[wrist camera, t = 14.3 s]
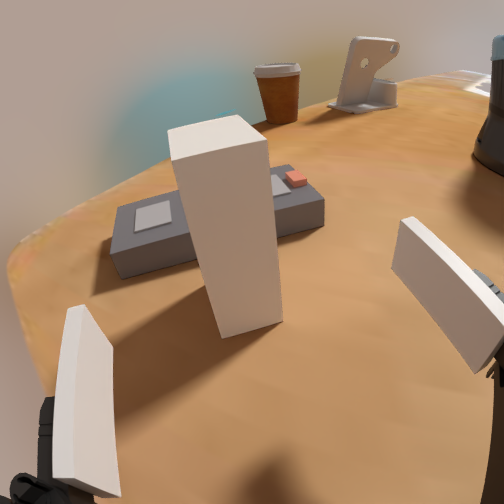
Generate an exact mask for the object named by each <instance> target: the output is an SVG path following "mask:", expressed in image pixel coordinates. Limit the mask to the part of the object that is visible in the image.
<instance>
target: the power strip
mask: <svg viewBox="0 0 504 504" xmlns="http://www.w3.org/2000/svg"><path fill="white" fill-rule="evenodd" d="M270 173H271V183H272V193H273V204H274V215H275V226H276V237H277V238H278V237H282V236H286V235H290V234H294V233H297V232H301V231H305V230H309V229H313V228H317V227H320V226H324V198H323V197H322V196H321V195H320V194H319V193H318V192H317V191H316V190H315V189H314V188H313V187H312V186H311V185H310V184H309V183H308V182H307V178H306V177H305V176H304V175H303V174H301V173H300V172H299V171H298V170H294V169H293V168H292V167H291V166H290V165H289V164H288V165H283V166H278V167H274V168H270ZM110 256H111V258H112V261H113V263H114V265H115V267H116V269H117V271H118V273H119V275H120V277H121V279H125V278H129V277H133V276H136V275H140V274H144V273H147V272H151V271H155V270H158V269H162V268H166V267H169V266H173V265H177V264H181V263H184V262H188V261H192V260H195V259H197V256H196V252H195V249H194V245H193V241H192V238H191V234H190V231H189V227H188V223H187V220H186V216H185V212H184V208H183V204H182V201H181V197H180V193H179V190H176V191H173V192H169V193H165V194H162V195H158V196H154V197H151V198H147V199H144V200H140V201H137V202H133V203H130V204H127V205H123V206H120V207H118V208H117V214H116V219H115V225H114V230H113V236H112V242H111V249H110Z"/></svg>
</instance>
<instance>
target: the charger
mask: <svg viewBox="0 0 504 504" xmlns="http://www.w3.org/2000/svg"><path fill="white" fill-rule="evenodd" d="M168 138H169V146H170V154H171V161H172V165H173V169H174V173H175V177H176V181H177V185H178V189H179V193H180V197H181V201H182V204H183V208H184V212H185V216H186V220H187V223H188V227H189V231H190V234H191V238H192V241H193V245H194V249H195V252H196V256H197V259H198V263H199V266H200V270H201V273H202V276H203V280H204V283H205V286H206V290H207V293H208V296H209V300H210V303H211V306H212V310H213V313H214V316H215V319H216V322H217V326H218V329H219V332H220V335H221V338H222V339H224V338H227V337H231V336H235V335H238V334H242V333H245V332H249V331H252V330H255V329H259V328H262V327H266V326H269V325H272V324H275V323H279V322H282V321H283V311H282V298H281V285H280V272H279V260H278V248H277V237H276V226H275V215H274V204H273V193H272V183H271V173H270V163H269V153H268V144H267V139H266V138H265V137H264V136H262V135H261V134H260V133H259V132H258V131H257V130H255V129H254V128H253V127H252V126H251V125H249V124H248V123H247V122H246V121H245V120H243V119H242V118H241V117H240V116H238V115H233V116H228V117H224V118H218V119H213V120H208V121H204V122H200V123H195V124H191V125H186V126H182V127H179V128H174V129H170V130H168Z"/></svg>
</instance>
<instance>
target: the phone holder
mask: <svg viewBox="0 0 504 504" xmlns="http://www.w3.org/2000/svg"><path fill="white" fill-rule="evenodd" d="M393 44H394V46H393V49H392V50H391V51H390V48H391V46H392V45H393ZM399 47H400V46H399V43H398V42H396V41H395V40H393V39H386V38H375V37H374V38H373V37H360V36H359V37H355V38H354V39H353V40H352V41H351V43H350V47H349V52H348V56H347V61H346V65H345V69H344V73H343V78H342V82H341V86H340V90H339V94H338V98H337V102H333V103H329V104H328V107H331V108H334V109H338V110H342V111H346V112H349V113H354V114H360V113H366V112H371V111H377V110H383V109H389V108H395V107H398V104H397V83H395V82H391V81H386V80H381V79H376V78H374V75H375V73H376V71H377V70H378V69H380V68H381V67H382V66H384V65H385V64H387V63H388V62H389V61H390V60H392V59H393V58H394V57H396V56H397V54H398V51H399ZM364 58H367V59H368V60H369V63H368V65H366V66H365V68H361V66H360V64H361V61H362V60H363V59H364Z"/></svg>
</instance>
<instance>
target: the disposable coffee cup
mask: <svg viewBox="0 0 504 504" xmlns="http://www.w3.org/2000/svg"><path fill="white" fill-rule="evenodd" d="M300 71H301V69H300V67H299V64H298V63H274V64H265V65H259V66H255V72H254V74H255V77H256V79H257V82H258V86H259V90H260V94H261V98H262V102H263V106H264V110H265V114H266V118H267V122H269V123H273V124H285V123H291V122H294V121H296V120H297V115H298V98H299V97H298V94H299V75H300Z"/></svg>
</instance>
